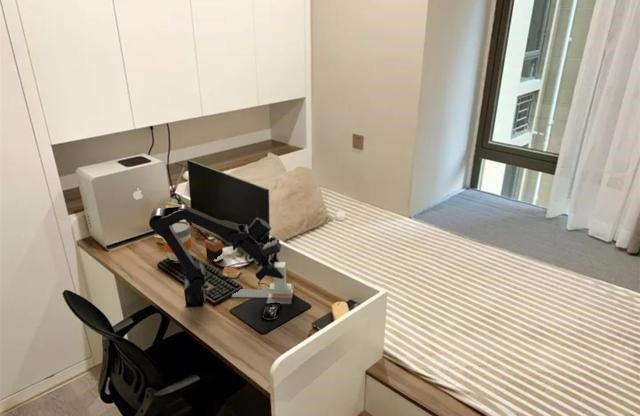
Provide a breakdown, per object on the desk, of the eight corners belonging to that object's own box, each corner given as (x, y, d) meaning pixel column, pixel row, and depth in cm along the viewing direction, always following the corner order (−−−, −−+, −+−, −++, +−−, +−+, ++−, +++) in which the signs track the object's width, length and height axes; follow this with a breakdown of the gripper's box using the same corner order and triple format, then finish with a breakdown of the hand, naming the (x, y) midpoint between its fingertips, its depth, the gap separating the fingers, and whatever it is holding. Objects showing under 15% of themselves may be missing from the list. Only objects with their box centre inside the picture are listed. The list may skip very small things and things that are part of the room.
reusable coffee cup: (158, 259, 197) (153, 228, 191) (181, 248, 206) (177, 218, 200) (177, 267, 190) (172, 236, 184) (200, 255, 200) (196, 225, 194)
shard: (226, 265, 193) (226, 261, 192) (244, 265, 193) (243, 261, 192) (221, 279, 183) (221, 275, 182) (240, 278, 183) (239, 275, 182)
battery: (214, 254, 200) (212, 234, 196) (224, 259, 196) (221, 239, 192) (206, 258, 197) (204, 238, 193) (216, 263, 193) (213, 243, 189)
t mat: (229, 302, 166) (229, 301, 166) (236, 285, 177) (236, 284, 177) (291, 304, 165) (290, 303, 165) (294, 286, 176) (294, 285, 176)
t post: (269, 293, 169) (267, 267, 164) (271, 287, 172) (269, 261, 168) (290, 294, 168) (289, 267, 164) (291, 288, 172) (290, 262, 168)
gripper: (262, 247, 153) (295, 275, 156) (270, 223, 170) (300, 249, 174) (241, 266, 156) (274, 293, 160) (251, 241, 173) (281, 266, 177)
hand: (283, 274), depth 168 cm, fingers closed on t post, 4 cm apart
